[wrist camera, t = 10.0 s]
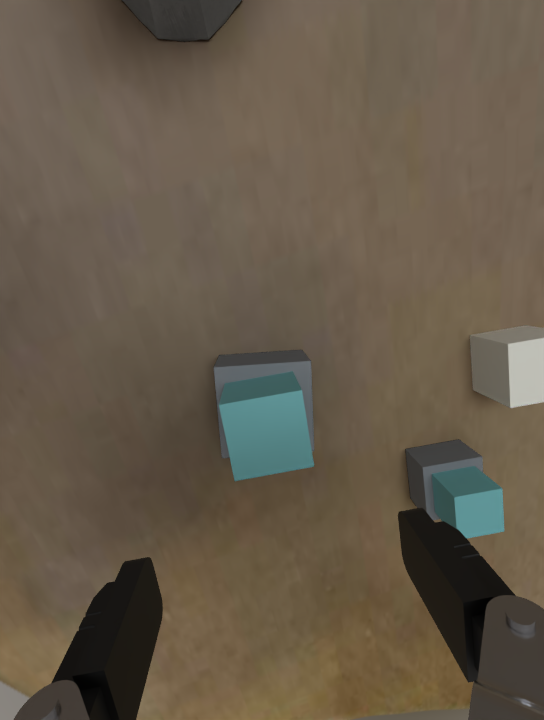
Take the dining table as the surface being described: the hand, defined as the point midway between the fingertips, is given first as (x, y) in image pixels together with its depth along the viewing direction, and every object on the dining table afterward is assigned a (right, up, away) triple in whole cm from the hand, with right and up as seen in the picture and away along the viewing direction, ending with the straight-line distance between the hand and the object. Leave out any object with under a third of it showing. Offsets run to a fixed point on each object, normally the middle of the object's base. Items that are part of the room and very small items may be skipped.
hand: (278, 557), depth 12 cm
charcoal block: (-1, +4, +21) cm, 21 cm away
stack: (+15, -4, +23) cm, 27 cm away
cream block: (+20, +6, +21) cm, 30 cm away
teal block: (-1, +3, +16) cm, 16 cm away
